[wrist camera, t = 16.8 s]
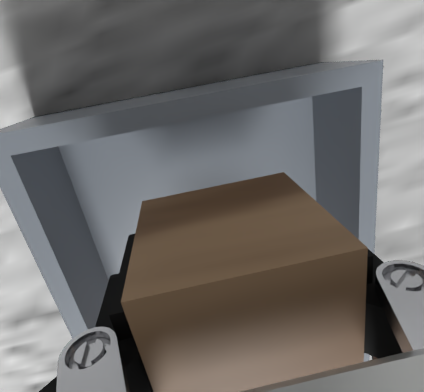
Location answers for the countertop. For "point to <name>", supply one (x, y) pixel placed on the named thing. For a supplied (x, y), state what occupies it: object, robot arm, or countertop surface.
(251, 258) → the walnut cube
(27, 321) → the countertop surface
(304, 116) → the tote
